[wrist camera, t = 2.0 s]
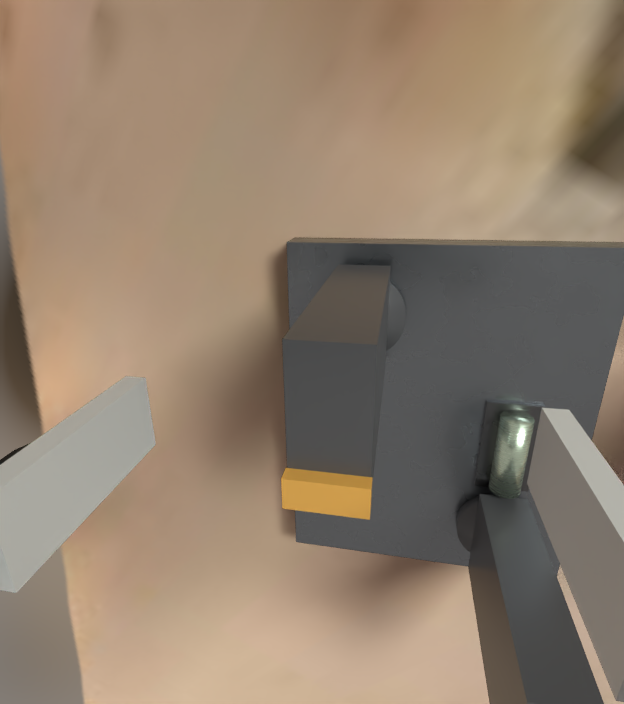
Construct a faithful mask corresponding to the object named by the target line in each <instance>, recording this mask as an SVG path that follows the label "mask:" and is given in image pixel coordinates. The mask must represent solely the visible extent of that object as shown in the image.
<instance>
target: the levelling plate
mask: <svg viewBox="0 0 624 704" xmlns="http://www.w3.org/2000/svg"><path fill="white" fill-rule="evenodd" d="M338 264H340V265H379V266H391V268H390V281H391V282H392V283H393V284H394V285H395V286H396V287H397V288H398V290H399V291H400V293H401V294H402V297H403V299H404V302H405V306H406V324H405V328H404V331H403V333H402V335H401V337H400V339H399V340H398V341H397V342H396V344H395V345H394V346H393V347H391V348H390V349H389V350H387V351H386V361H385V374H384V384H383V393H382V402H381V411H380V420H379V429H378V438H377V447H376V456H375V465H374V474H373V483H372V499H371V513H370V520H367V519H360V518H352V517H344V516H336V515H329V514H321V513H313V512H305V511H298V510H295V522H296V542H301V543H308V544H315V545H322V546H329V547H336V548H343V549H350V550H357V551H364V552H371V553H378V554H385V555H392V556H399V557H406V558H413V559H420V560H427V561H434V562H441V563H448V564H455V565H462V566H468V565H469V559H470V552H469V551H468V550H466V549H465V548H464V546H463V545H462V544H461V542H460V540H459V538H458V534H457V527H456V517H457V514H458V511H459V510H460V508H461V507H462V506H463V505H464V504H465V503H466V502H467V501H469V500H470V499H472V498H474V497H477V496H479V495H480V494H495V495H497V496H499V497H502V498H506V499H514V498H520V499H528V501H529V504H530V506H531V509H532V512H533V514H534V517H535V520H536V523H537V525H538V528H539V531H540V533H541V536H542V539H543V541H544V544H545V547H546V549H547V552H548V555H549V557H550V560H551V563H552V566H553V568H554V571H555V574H556V576H557V573H558V569H559V565H560V563H559V560H558V558H557V555H556V553H555V550H554V548H553V546H552V543H551V541H550V538H549V536H548V533H547V531H546V528H545V526H544V523H543V521H542V519H541V516H540V514H539V511H538V509H537V506H536V504H535V501H534V499H533V497H532V494H531V492H530V489H529V487H528V484H527V480H528V475H529V470H530V465H531V460H532V455H533V450H534V445H535V440H536V435H537V429H538V424H539V419H540V414H541V409H542V408H553V409H567V410H570V412H571V413H572V414H573V416H574V417H575V418H576V420H577V421H578V423H579V424H580V425H581V427H582V428H583V430H584V431H585V432H586V434H587V435H588V436H589V438H590V439H591V441H592V437H593V433H594V429H595V425H596V421H597V417H598V413H599V409H600V405H601V401H602V398H603V394H604V390H605V386H606V382H607V378H608V374H609V370H610V366H611V362H612V359H613V355H614V351H615V347H616V343H617V339H618V335H619V331H620V327H621V323H622V320H623V316H624V242H566V241H497V240H429V239H360V238H293V239H291V240H290V241H288V242H287V266H288V298H289V330H290V328H291V327H292V326H293V324H294V323H295V322H296V320H297V319H298V318H299V316H300V315H301V314H302V312H303V311H304V310H305V308H306V307H307V306H308V304H309V303H310V302H311V300H312V299H313V298H314V296H315V295H316V294H317V292H318V291H319V290H320V288H321V287H322V286H323V284H324V283H325V282H326V280H327V279H328V278H329V276H330V275H331V274H332V272H333V271H334V270H335V268H336V267H337V266H338Z"/></svg>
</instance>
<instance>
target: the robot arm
mask: <svg viewBox="0 0 624 704" xmlns="http://www.w3.org/2000/svg"><path fill="white" fill-rule="evenodd" d="M155 445H156V442H155V436H154V430H153V423H152V417H151V410H150V404H149V397H148V391H147V384H146V378H143V377H130V376H125V377H124V378H123V379H121V380H120V381H118V382H117V383H116V384H114V385H113V386H111V387H110V388H108V389H107V390H106V391H104V392H103V393H101V394H100V395H99V396H97V397H96V398H94V399H93V400H91V401H90V402H89V403H87V404H86V405H84V406H83V407H82V408H80V409H79V410H77V411H76V412H74V413H73V414H72V415H70V416H69V417H67V418H66V419H65V420H63V421H62V422H60V423H59V424H57V425H56V426H55V427H53V428H52V429H50V430H49V431H48V432H46V433H45V434H43V435H42V436H40V437H39V438H38V439H36V440H35V441H33V442H32V443H29V444H27V445H25V446H23V447H21V448H18V449H16V450H14V451H12V452H11V453H10V454H8V455H7V456H5V457H4V458H2V459H1V460H0V590H2V591H7V592H13V593H17V592H18V591H19V590H20V589H21V588H22V586H23V585H24V584H25V583H26V582H27V581H28V580H29V579H30V578H31V577H32V576H33V575H34V574H35V572H37V570H38V569H39V568H40V567H41V566H42V565H43V564H44V563H45V562H46V561H47V560H48V559H49V558H50V557H51V556H52V554H53V553H54V552H55V551H56V550H57V549H58V548H59V547H60V546H61V545H62V544H63V543H64V542H65V541H66V540H67V539H68V537H69V536H70V535H71V534H72V533H73V532H74V531H75V530H76V529H77V528H78V527H79V526H80V525H81V524H82V523H83V521H84V520H85V519H86V518H87V517H88V516H89V515H90V514H91V513H92V512H93V511H94V510H95V509H96V508H97V507H98V505H99V504H100V503H101V502H102V501H103V500H104V499H105V498H106V497H107V496H108V495H109V494H110V493H111V492H112V491H113V489H114V488H115V487H116V486H117V485H118V484H119V483H120V482H121V481H122V480H123V479H124V478H125V477H126V476H127V475H128V473H129V472H130V471H131V470H132V469H133V468H134V467H135V466H136V465H137V464H138V463H139V462H140V461H141V460H142V459H143V457H144V456H145V455H146V454H147V453H148V452H149V451H150V450H151V449H152V448H153V447H154V446H155ZM527 484H528V487H529V489H530V492H531V494H532V497H533V499H534V501H535V504H536V506H537V509H538V511H539V514H540V516H541V519H542V521H543V523H544V526H545V528H546V531H547V533H548V536H549V538H550V541H551V543H552V546H553V548H554V550H555V553H556V555H557V558H558V560H559V563H560V565H561V568H562V570H563V572H564V575H565V577H566V580H567V582H568V585H569V587H570V590H571V592H572V594H573V597H574V599H575V602H576V604H577V607H578V609H579V612H580V614H581V617H582V619H583V621H584V624H585V626H586V629H587V631H588V634H589V636H590V639H591V641H592V643H593V646H594V648H595V651H596V653H597V656H598V658H599V661H600V663H601V665H602V668H603V670H604V673H605V675H606V678H607V680H608V683H609V685H610V688H611V690H612V692H613V695H614V697H615V700H616V701H621V702H624V485H623V483H622V482H621V481H620V479H619V478H618V477H617V475H616V474H615V472H614V471H613V470H612V468H611V467H610V465H609V464H608V463H607V461H606V460H605V459H604V457H603V456H602V454H601V453H600V452H599V450H598V449H597V447H596V446H595V445H594V443H593V442H592V441H591V439H590V438H589V436H588V435H587V434H586V432H585V431H584V430H583V428H582V427H581V425H580V424H579V423H578V421H577V420H576V418H575V417H574V416H573V414H572V413H571V412H570V410H567V409H553V408H542V409H541V414H540V419H539V424H538V429H537V435H536V440H535V445H534V450H533V455H532V460H531V465H530V470H529V475H528V480H527Z"/></svg>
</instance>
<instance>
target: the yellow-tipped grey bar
mask: <svg viewBox="0 0 624 704" xmlns="http://www.w3.org/2000/svg"><path fill="white" fill-rule="evenodd" d="M390 268H391V266H379V265H340V264H338V266H337V267H336V268H335V270H334V271H333V272H332V274H331V275H330V276H329V278H328V279H327V280H326V282H325V283H324V284H323V286H322V287H321V288H320V290H319V291H318V292H317V294H316V295H315V296H314V298H313V299H312V300H311V302H310V303H309V304H308V306H307V307H306V308H305V310H304V311H303V312H302V314H301V315H300V316H299V318H298V319H297V320H296V322H295V323H294V324H293V326H292V327H291V328H290V330H289V331H288V332H287V334H286V335H285V336H284V338H283V339H282V345H283V371H284V398H285V424H286V450H287V468H285V471H284V473H283V476H282V478H281V487H282V509H290V510H298V511H305V512H313V513H321V514H329V515H336V516H344V517H352V518H360V519H367V520H370V513H371V499H372V483H373V474H374V465H375V456H376V447H377V438H378V429H379V420H380V411H381V402H382V393H383V384H384V374H385V361H386V351H387V350H389V349H390V348H391V347H393V346H394V345H395V344H396V342H397V341H398V340H399V339H400V337H401V335H402V333H403V331H404V328H405V324H406V306H405V302H404V299H403V297H402V294H401V293H400V291H399V290H398V288H397V287H396V286H395V285H394V284H393V283H392V282H391V281H390Z"/></svg>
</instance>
